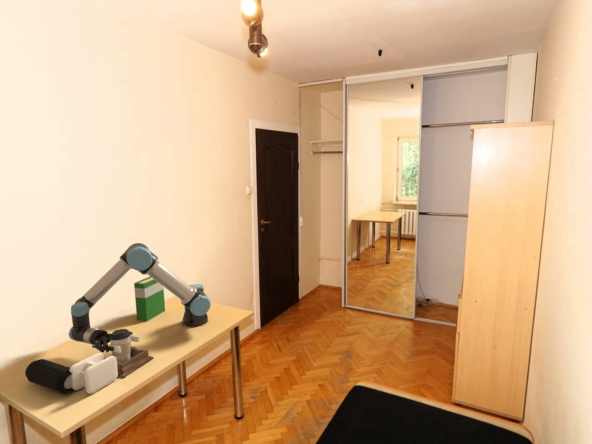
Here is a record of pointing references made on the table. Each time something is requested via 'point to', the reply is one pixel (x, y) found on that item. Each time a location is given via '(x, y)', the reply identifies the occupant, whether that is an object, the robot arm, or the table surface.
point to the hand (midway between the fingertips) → (129, 344)
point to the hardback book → (149, 299)
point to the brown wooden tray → (133, 362)
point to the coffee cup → (121, 344)
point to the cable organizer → (93, 373)
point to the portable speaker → (50, 375)
